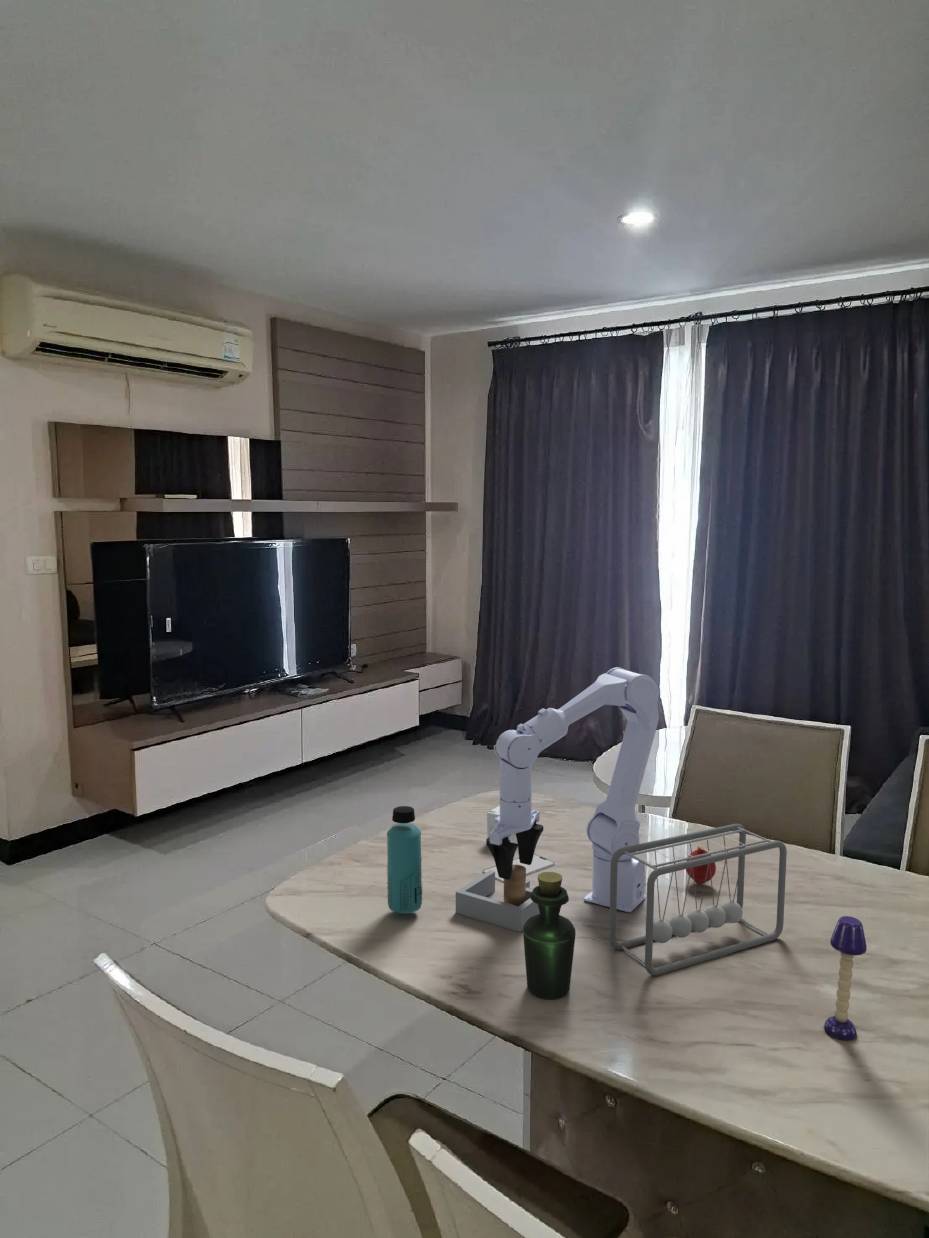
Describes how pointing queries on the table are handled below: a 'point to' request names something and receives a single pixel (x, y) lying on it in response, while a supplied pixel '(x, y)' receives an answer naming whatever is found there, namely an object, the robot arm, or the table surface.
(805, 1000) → the table surface
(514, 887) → the peg
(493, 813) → the skincare box
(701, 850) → the onion
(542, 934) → the potion bottle
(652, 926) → the newton's cradle
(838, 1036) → the toy lamp
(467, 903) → the channel
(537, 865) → the smartphone
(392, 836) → the beverage bottle
